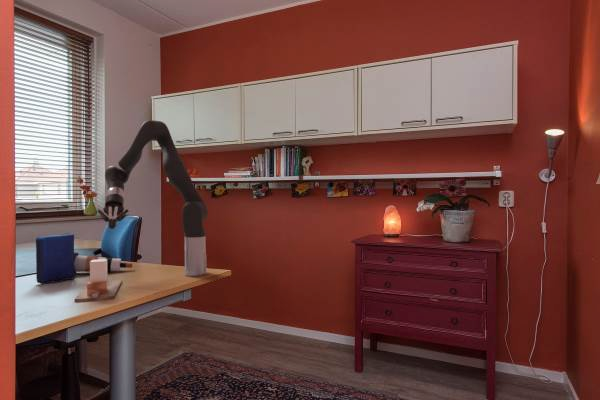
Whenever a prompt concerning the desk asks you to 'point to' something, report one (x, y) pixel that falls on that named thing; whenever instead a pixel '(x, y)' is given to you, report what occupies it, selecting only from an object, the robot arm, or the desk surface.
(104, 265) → the sleeve
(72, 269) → the book
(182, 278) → the desk surface
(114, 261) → the grey brown bottle
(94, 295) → the rail board
